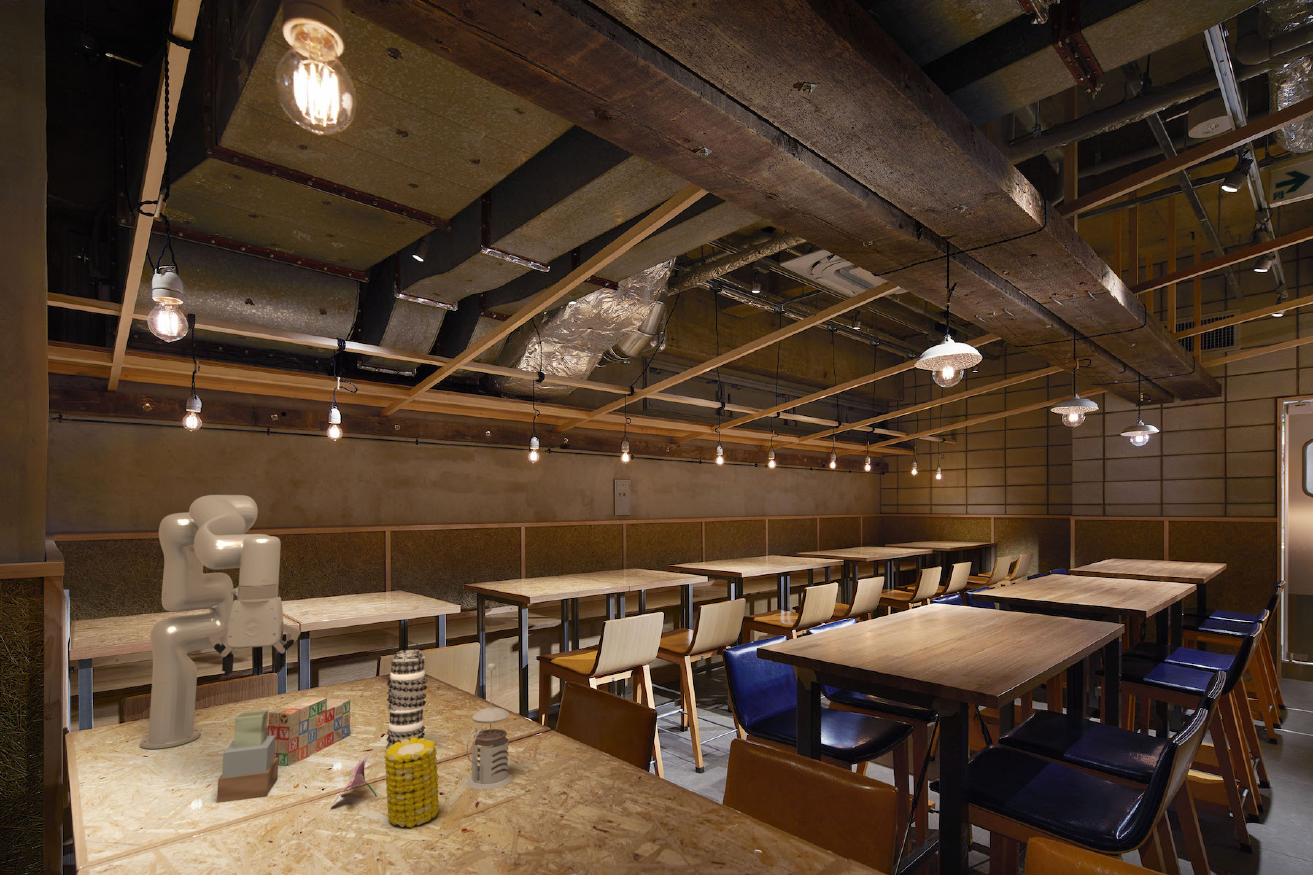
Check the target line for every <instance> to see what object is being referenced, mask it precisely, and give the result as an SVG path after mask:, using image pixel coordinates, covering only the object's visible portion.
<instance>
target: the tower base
mask: <svg viewBox="0 0 1313 875" xmlns="http://www.w3.org/2000/svg"><path fill="white" fill-rule="evenodd" d="M278 758H279V757H278ZM278 758H274V760H273V762H272V763H271V765H270V767H269V768H268V770H267V772H266V773H258V774H250V775H243V776H235V777H227V778H222V774H221V775H220V776H219V778H218V779H217V792H216V794H217V795H216V803H217V804H220V803H226V802H236V801H242V800H243V801H244V800H251V799H259V798H267V797H268V795H269V794H270V791H272V789H273V788H274V786H275V784H276V783H277V781H278V777H279V775H278V771H279V766H278ZM268 793H269V794H268Z"/></svg>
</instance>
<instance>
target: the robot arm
mask: <svg viewBox="0 0 1313 875" xmlns="http://www.w3.org/2000/svg"><path fill="white" fill-rule="evenodd" d="M188 509H189V510H188V511H187V512H177V513H171V514H168V515H166V516H165V517H163V518H162V519H161V521H160V523H159V528H158V539H159V544H160V547H161V550H162V553H163V558H164V564H163V565H164V566H163V575H162V586H161V606H162V607H163V609H164V610H165V611H167V612H172V613H174V612H179V613H180V612H188V611H200V610H207V609H209V612H206V613H197V614H196V613H195V614H186V615H179V616H172V617H167V618H164V619H161V620H159V621H158V622H157V623H155V624H154V625H153V627H152V629H151V632H150V643H151V645H150V646H151V652H152V653H151V654H152V675H151V676H152V678H151V691H150V692H151V693H150V694H151V695H150V709H149V720H148V721H149V723H148V735H146V736H145V737H143V738H142V739H141V740H140V743H139V746H140V747H141V748H143V749H147V750H148V749H149V750H151V749H154V750H155V749H156V750H157V749H166V748H172V747H177V746H181V745H184V744H187V743H190V742H194V741H195V740H197V739H198V738H200V736H201V733H202V732H201V729H199V728H195V711H196V699H197V698H196V696H197V680H198V668H197V665H196V663H195V662H194V661H193V660H192V659H191V658H190V657H189V656H188V653H192V652H194V651H195V652H196V651H202V650H208V649H214V650H215V651H216V652H218V654H220V656H221V657H222V663H221V665H222V667H221V670H222V672H224V673H223V674H224V677H228V676H230V675H231V674H232V673H233V671H234V653H233V651H234V650H235V649H245V648H246V649H247V648H248V649H249V648H260V647H272V646H273V647H274V648H275V649H276V650H277V653H276V655H275V667H274V668H275V669H274V671H275V672H276V673H280V672H281V671H282V670H283V668H285V666H286V658H287V657H286V656H287V651H288V649H290V648H291V647H292V646H293V645H294V644H295V643H296V641H297V640H298V638H299V636H300V635H301V632H302V631H301V630H300V629H297V628H296V627H293V626H290V625H288V624H285V623H284V610H283V602H282V597H281V596H279V584H280V582H279V580H280V579H279V578H280V565H281V563H280V562H281V560H280V559H281V546H282V545H281V540H280V537H277V536H273V535H271V536H270V535H268V534H264V533H263V534H262V533H252V534H251V533H248V534H247V533H246V532H248V531H249V530H250V529H251V528H252V527H253V526H254V524H255V522H256V520H257V519H258V514H259V513H258V512H259V510H258V505H257V503H256V501H255V500H254V498H252V497H251V496H248V495H243V494H206V495H204V496H200V497H198V498H196V499H195V500H194V501H193V502H192V503H191V504H190V507H189V508H188ZM204 567H206V568H208V569H209V570H228V569H239V574H238V575H239V577H238V586H237V587H234V583H233V580H232V577H230V576H229V574H227V573H225V572H207V573H204ZM234 596H236V597H237V598H236V599H235V600H234ZM284 632H285V633H286V634H289V635H291V636H290V638H289V639H288V641H287V642H284V641H283V638H284ZM225 644H226V645H225Z"/></svg>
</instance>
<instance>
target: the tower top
mask: <svg viewBox="0 0 1313 875" xmlns="http://www.w3.org/2000/svg"><path fill="white" fill-rule="evenodd" d="M274 751H275V735H273V736H267V738H266V740H265V741H264V742H263V743H262V745H261V746H253V747H243V748H234V739H233V740H232V742H230V744H229V745H228V747H227V748H226V749H225V750H224V752H223V753H222V754H223V755H222V770H221V772H222V773H221V775H222V778H227V777H235V776H243V775H250V774H258V773H266V772H267V770H268V768H269V767H270V765H271V763H272V762H273V760H274Z"/></svg>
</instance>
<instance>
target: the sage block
mask: <svg viewBox="0 0 1313 875" xmlns="http://www.w3.org/2000/svg"><path fill="white" fill-rule="evenodd" d="M268 717H269V709H260V710H258V709H257V710H249V711H242V712H241V713H240V714H239V715H237V716H236V718H235V719H234V720H235V722H234V737H233V738H234V739H233V740H234V748H243V747H253V746H261V745H262V743H263V742H264V741H265V740H266V738H267V729H268Z"/></svg>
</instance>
